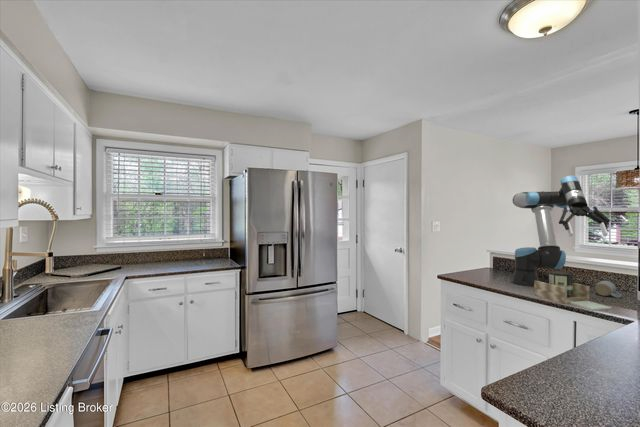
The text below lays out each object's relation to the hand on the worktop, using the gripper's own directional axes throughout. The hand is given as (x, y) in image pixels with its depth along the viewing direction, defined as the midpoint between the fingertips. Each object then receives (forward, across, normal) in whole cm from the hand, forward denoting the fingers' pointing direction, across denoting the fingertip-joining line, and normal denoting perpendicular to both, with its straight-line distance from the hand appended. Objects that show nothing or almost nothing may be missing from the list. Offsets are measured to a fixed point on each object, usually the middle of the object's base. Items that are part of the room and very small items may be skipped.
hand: (588, 235), depth 147 cm
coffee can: (+20, -6, +33) cm, 40 cm away
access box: (+20, -6, +33) cm, 39 cm away
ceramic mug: (+13, +20, +45) cm, 51 cm away
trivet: (+27, +2, +23) cm, 36 cm away
